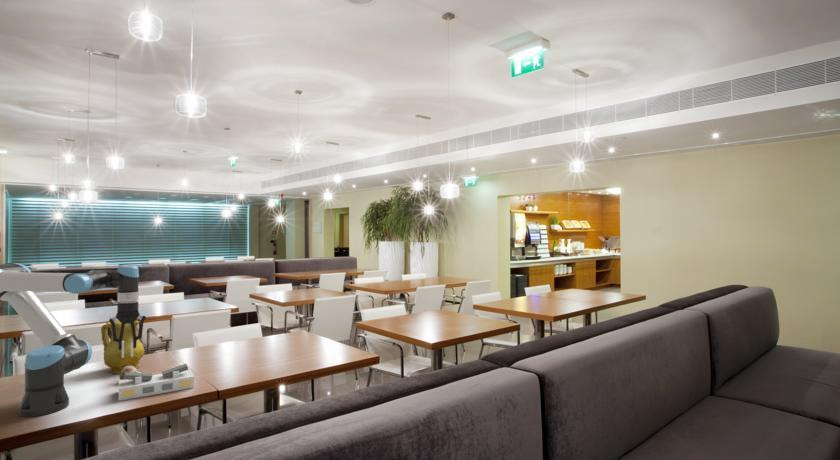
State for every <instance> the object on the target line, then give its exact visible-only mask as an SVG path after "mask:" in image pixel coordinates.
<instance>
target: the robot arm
mask: <svg viewBox="0 0 840 460" xmlns="http://www.w3.org/2000/svg"><path fill="white" fill-rule="evenodd" d="M139 271H140V270H139V267H138V266H136V265H120V266H118V267H117V270H116V269H115V270H108V269H107V270H103V269H98V270H89V271H87V272H79V273H78V272H33V271H31V269H30V268H29V267H27V265H24V264H22V263H19V262H18V263H16V262H6V263H0V301H3V302H7V303H9V304H10V306H11V307H12V309H14V310H15V312H16V313H17V314H18V315H19V316H20V318H21V319H22V321H23V322H24V323H25V324H26V326H28V328H29V329H30V330H31V332H32V333H33V334H34V336H36V338H37V340H39V341H40V343H41V344H42V345H43V347H39V348H36V349H33V350H30V352H28V353H27V354H26V355H25V359H24V360H25V362H24V395H23V396H22V398H21V401H20V403H19V406H18V416H21V417H26V418H27V417H39V416H44V415H49V414H52V413H53V414H54V413H56V412H60V411H62V410H63V409H65V408H67V407H68V406H69V405H70V397H69V396H68V393H67V390H66V388H65V386H64V385H65V384H64V383H65V377H64V376H65V375H67V374H69V373H71V372H73V371H75V370H79V369H81V368H82V367H83V366H85V365H86V364H87V363H88V362H90V360H91V358H92V354H93V348H92V346H91V344H90V343H89V342H88V341H87V340H84V339H78V338H77V337H76V335H75V334H74V333H68V332H67V331H66V330H65V329H64V327H63V326H62V325H61V324H60V322H59V321H58V320H57V318H56V317H55V316H54V315H53V314H52V312H51V311H50V309H48V308H47V306H46V305H45V304H44V302H43V301H42V300H41V299H40V297H38V295H37V294H36V292H41V293H42V292H43V293H44V292H46V293H47V292H49V293H51V292H52V293H54V292H55V293H70V294H73V295H74V294H85V293H88V292H92V291H98V290H102V289H117V308H116V309H117V313H116V315H115V316H114V317H110V318H109V319H108V320H109V321H108V322H110V323H111V325H112V332H113V340H114V342H118V343H119V350H122V358H124V341H122V339H123V333H124V327H125V324H127V323H130V324H131V329H132V335H133V340H131V357H133V348H136V341H137V340H138V339H139V340H141V339H142V335H143V329H144V323H145V320H146V319H147V317H146V315H145V314H141V313H140V312H139V293H140V292H139V281H140V279H139V277H140V275H139ZM137 319H139V320H140V321H139V324H138V325H139V326H138V327H139V328H138V331H137V335H138V336H136V333H135V326H134V322H135V321H137ZM116 320H119V321H120V322H121V329H120V335H119V338H117V335H116V327H115V322H116Z"/></svg>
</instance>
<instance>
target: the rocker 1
mask: <svg viewBox="0 0 840 460" xmlns="http://www.w3.org/2000/svg"><path fill="white" fill-rule="evenodd" d="M152 375H153V374H152V372H142V373H128V372H125V375H124V380H135V377H141V376H142V380H151V379H152Z"/></svg>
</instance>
